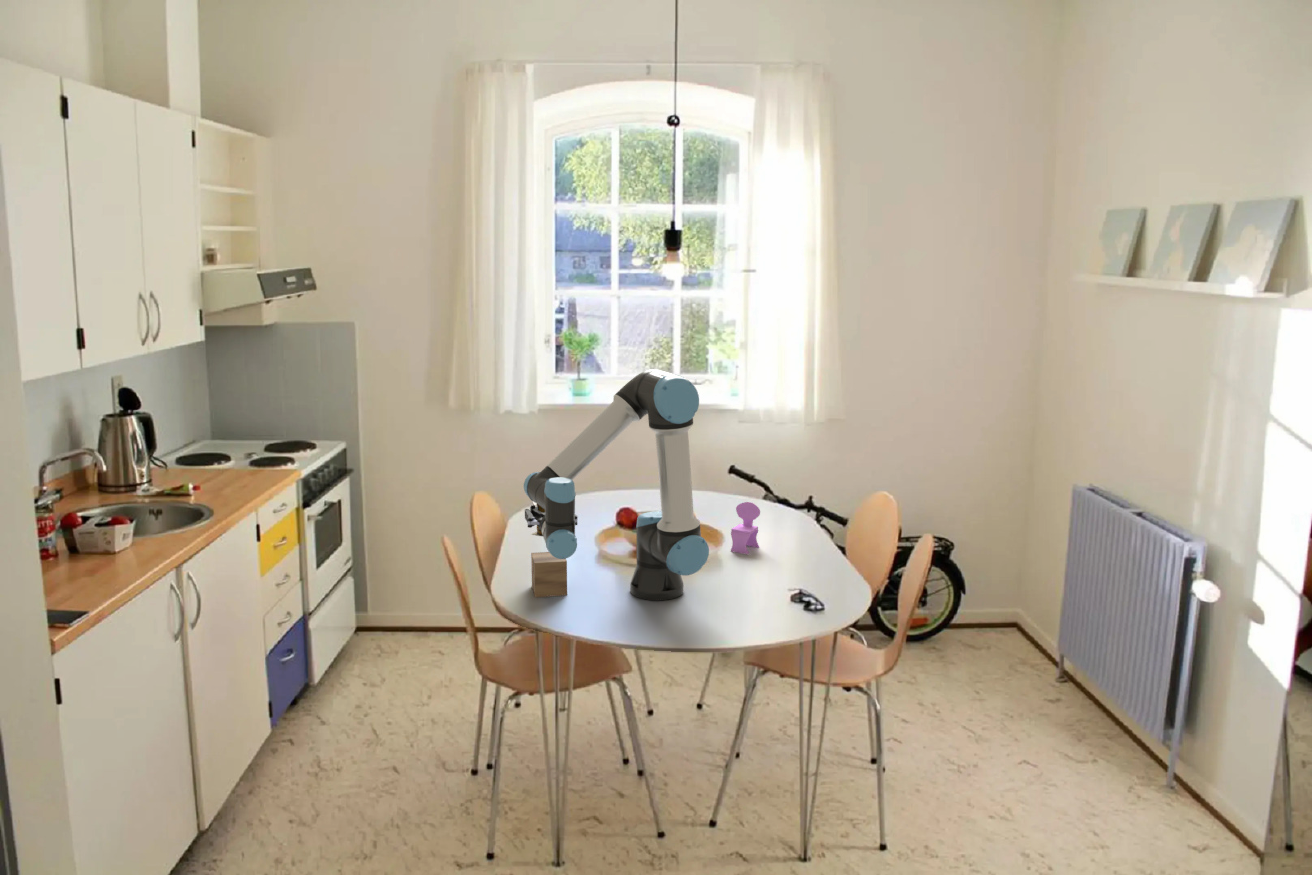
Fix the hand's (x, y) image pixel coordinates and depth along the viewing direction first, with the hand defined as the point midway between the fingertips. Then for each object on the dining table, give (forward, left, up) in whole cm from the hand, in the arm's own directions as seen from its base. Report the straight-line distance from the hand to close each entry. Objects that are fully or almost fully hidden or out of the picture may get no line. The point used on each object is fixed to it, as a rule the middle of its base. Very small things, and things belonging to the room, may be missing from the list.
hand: (545, 504), depth 300 cm
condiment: (+4, +3, -7) cm, 9 cm away
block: (+4, +3, -24) cm, 24 cm away
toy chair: (-50, +47, -24) cm, 73 cm away
